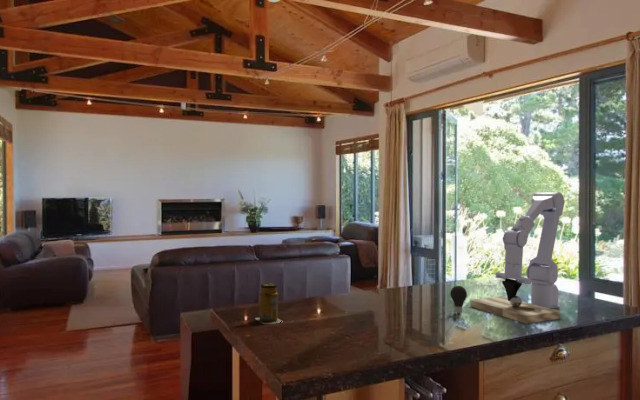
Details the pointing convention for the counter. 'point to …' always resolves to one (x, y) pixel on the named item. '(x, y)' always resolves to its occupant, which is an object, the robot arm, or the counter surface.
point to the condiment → (268, 304)
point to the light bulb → (458, 297)
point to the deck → (515, 310)
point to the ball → (515, 301)
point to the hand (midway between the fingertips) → (511, 301)
